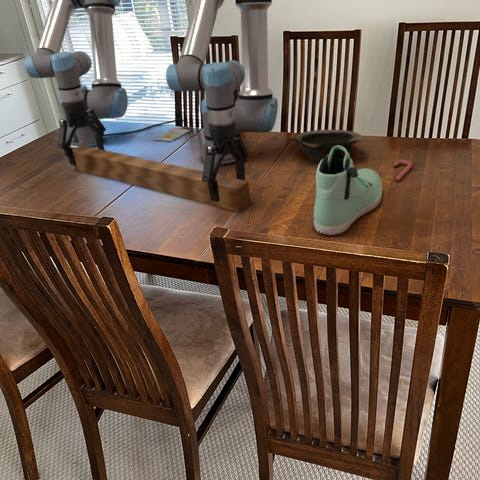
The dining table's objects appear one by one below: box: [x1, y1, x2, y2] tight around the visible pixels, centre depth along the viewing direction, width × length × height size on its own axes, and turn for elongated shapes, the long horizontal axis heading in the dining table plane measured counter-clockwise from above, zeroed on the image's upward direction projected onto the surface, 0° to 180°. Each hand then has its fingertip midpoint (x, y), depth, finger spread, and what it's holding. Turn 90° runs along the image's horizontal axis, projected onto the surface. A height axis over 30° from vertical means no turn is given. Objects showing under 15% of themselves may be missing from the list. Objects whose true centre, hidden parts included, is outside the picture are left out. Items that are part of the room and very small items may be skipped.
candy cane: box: [393, 159, 413, 182], centre depth 157 cm, size 6×15×2 cm, turn 145°
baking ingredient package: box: [154, 127, 191, 142], centre depth 205 cm, size 9×1×15 cm
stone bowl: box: [292, 129, 365, 164], centre depth 172 cm, size 25×25×9 cm
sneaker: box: [313, 146, 383, 236], centre depth 133 cm, size 14×35×20 cm, turn 152°
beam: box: [72, 145, 251, 213], centre depth 161 cm, size 75×6×8 cm, turn 56°
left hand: (87, 158), depth 177 cm, fingers open, 13 cm apart
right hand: (228, 191), depth 144 cm, fingers open, 13 cm apart
